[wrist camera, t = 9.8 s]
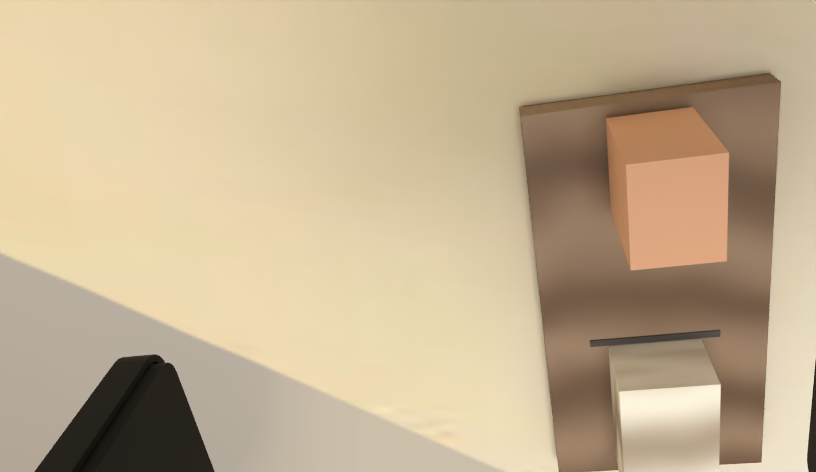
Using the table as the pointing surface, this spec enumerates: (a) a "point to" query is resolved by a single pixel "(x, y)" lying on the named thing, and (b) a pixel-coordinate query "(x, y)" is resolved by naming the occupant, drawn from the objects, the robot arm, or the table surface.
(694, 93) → the ticket board
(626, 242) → the stub
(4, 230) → the table surface
